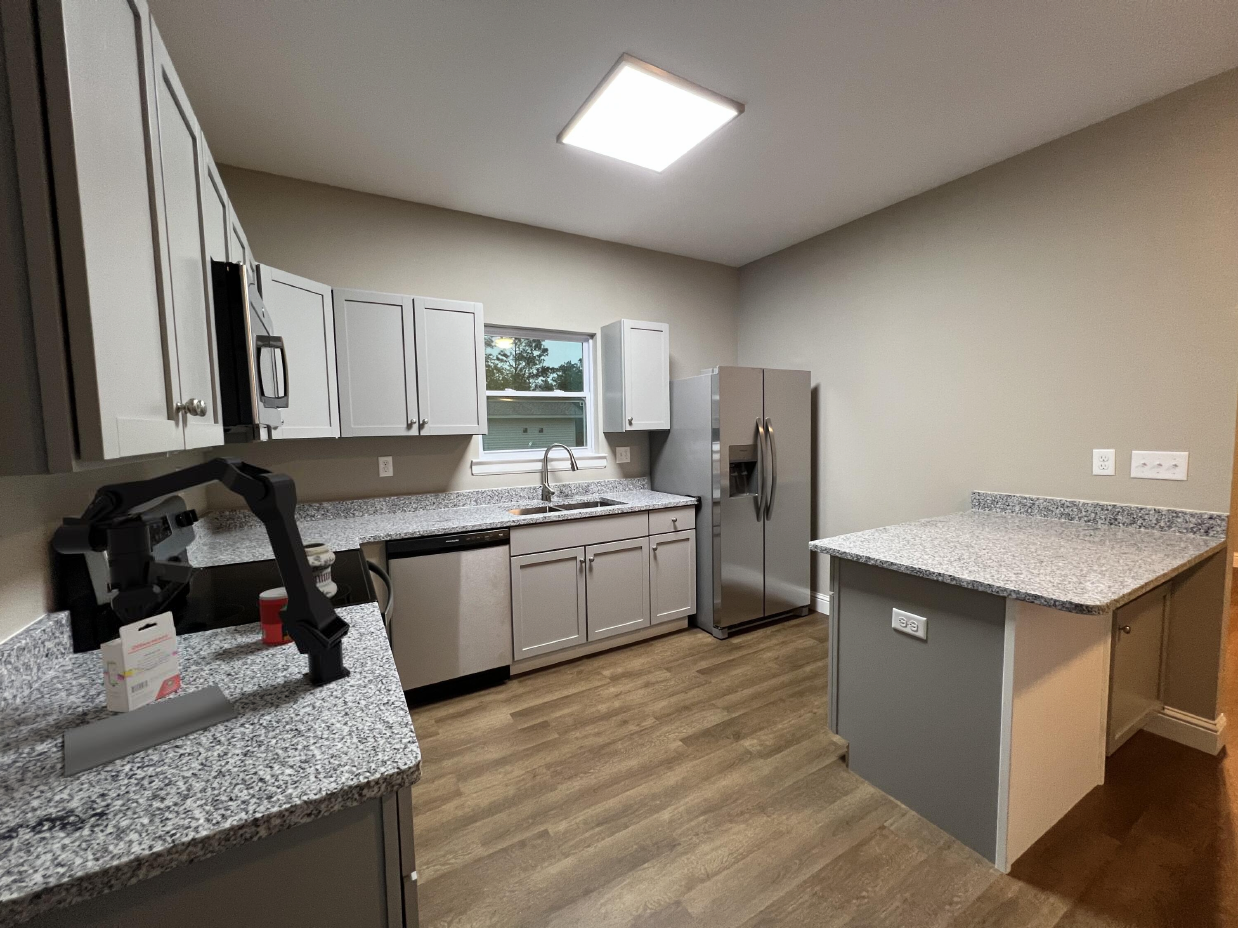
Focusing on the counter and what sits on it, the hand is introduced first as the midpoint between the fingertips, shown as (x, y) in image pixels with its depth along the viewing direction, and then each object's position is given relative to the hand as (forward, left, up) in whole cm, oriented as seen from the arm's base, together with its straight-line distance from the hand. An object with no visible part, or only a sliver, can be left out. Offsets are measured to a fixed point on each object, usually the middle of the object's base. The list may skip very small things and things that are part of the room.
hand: (136, 634), depth 92 cm
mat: (-19, 0, -10) cm, 22 cm away
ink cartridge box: (-7, 0, -10) cm, 12 cm away
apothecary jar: (+19, -34, -10) cm, 40 cm away
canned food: (+5, -24, -10) cm, 26 cm away
